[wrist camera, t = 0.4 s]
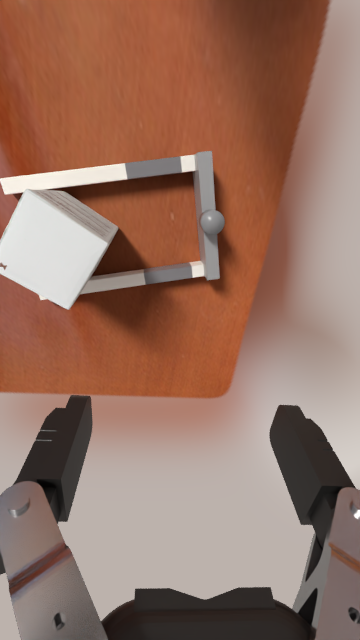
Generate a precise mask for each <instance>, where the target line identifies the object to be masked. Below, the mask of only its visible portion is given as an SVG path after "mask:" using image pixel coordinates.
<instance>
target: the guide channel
mask: <svg viewBox="0 0 360 640" xmlns="http://www.w3.org/2000/svg"><path fill="white" fill-rule="evenodd" d="M185 172H193V181H194V193H195V204H196V215H197V227H198V238H199V250H200V261H196V262H189V263H182V264H176V265H169V266H162V267H155V268H148V269H141V270H134V271H127V272H120V273H113V274H106V275H99V276H92V277H91V278H90V279H89V281H88V282H87V284H86V286H85V287H84V289H83V290H82V292H81V293H80V294H85V293H92V292H99V291H106V290H112V289H119V288H126V287H133V286H140V285H146V284H153V283H160V282H167V281H174V280H180V279H187V278H194V277H201V276H205V278H206V279H207V280H213V279H220V275H219V259H218V243H217V234H218V233H219V232H221V230H222V229H223V227H224V224H225V220H224V217H223V215H222V214H221V213H220V212H218V211H216V210H215V194H214V178H213V162H212V151H206V152H198V153H196V154H195V155H189V156H181V157H173V158H164V159H156V160H148V161H140V162H132V163H124V164H115V165H107V166H99V167H91V168H83V169H75V170H66V171H58V172H50V173H42V174H34V175H25V176H17V177H9V178H1V179H0V182H1V185H2V188H3V191H4V194H18V193H23V192H24V191H25V190H26V189H32V190H50V189H58V188H66V187H74V186H82V185H90V184H98V183H106V182H114V181H122V180H130V179H138V178H145V177H153V176H161V175H169V174H177V173H185ZM39 297H40V300H44V299H47V298H45V297H43V296H41V295H39Z"/></svg>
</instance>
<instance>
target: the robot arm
mask: <svg viewBox="0 0 360 640" xmlns="http://www.w3.org/2000/svg"><path fill="white" fill-rule="evenodd" d="M91 432H92V408H91V397H90V396H79V395H71V396H70V398H69V401H68V403H67V406H66V408H55V409H54V410H53V411H52V412H51V413H50V414H49V415H48V416H47V417H46V419H45V421H44V423H43V425H42V427H41V429H40V432H39V433H38V435H37V438H36V441H35V442H34V444H33V446H32V448H31V450H30V452H29V454H28V457H27V459H26V461H25V463H24V465H23V467H22V469H21V471H20V474H19V476H18V478H17V480H16V481H15V483H14V484H13V485H12V486H11V487H9V488H7V489H6V490H5V491H4V492H3V493H2V494H1V495H0V574H3V573H6V574H7V578H8V582H9V592H10V597H11V601H12V605H13V609H14V613H15V617H16V621H17V625H18V629H19V633H20V637H21V640H360V490H358V489H356V488H355V486H354V485H353V483H352V481H351V479H350V478H349V476H348V474H347V473H346V471H345V469H344V467H343V466H342V464H341V462H340V461H339V459H338V457H337V455H336V454H335V452H334V451H333V449H332V447H331V445H330V443H329V442H327V439H326V437H325V435H324V433H323V431H322V430H321V428H320V427H319V426H318V425H317V424H315V423H314V422H313V421H312V420H311V419H306V418H305V416H304V414H303V412H302V411H301V409H300V407H298V406H292V405H279V406H278V409H277V411H276V414H275V417H274V420H273V423H272V426H271V428H270V442H271V445H272V448H273V451H274V454H275V456H276V459H277V462H278V464H279V467H280V470H281V472H282V475H283V478H284V480H285V483H286V486H287V488H288V491H289V494H290V496H291V499H292V502H293V504H294V507H295V510H296V512H297V515H298V518H299V520H300V523H301V525H313V528H314V530H315V534H314V536H313V539H312V543H311V547H310V551H309V555H308V559H307V563H306V567H305V571H304V575H303V579H302V583H301V586H300V590H299V592H298V594H297V597H296V599H295V602H294V605H293V608H292V609H291V608H289V607H288V606H286V605H285V604H283V603H281V602H279V601H277V600H274V599H273V596H272V592H271V588H270V587H262V588H261V587H259V588H258V587H254V588H236V589H234V590H231V591H228V592H226V593H223V594H221V595H218V596H215V597H213V598H210V599H207V600H203V599H200V598H197V597H194V596H191V595H188V594H185V593H181V592H179V591H176V590H173V589H170V588H167V589H135V599H134V600H131V601H129V602H126V603H124V604H123V605H121V606H119V607H117V608H116V609H115V610H113V611H112V612H111V613H109V614H108V615H107V616H106V617H105V618H104V619H103V620H102V621H100V619H99V616H98V614H97V612H96V609H95V607H94V604H93V602H92V600H91V597H90V595H89V592H88V590H87V588H86V585H85V583H84V581H83V578H82V576H81V573H80V571H79V569H78V566H77V564H76V561H75V559H74V557H73V555H72V552H71V550H70V549H69V547H68V546H66V544H65V542H64V539H63V537H62V535H61V532H60V530H59V527H58V525H57V524H58V521H63V522H64V521H65V522H66V521H67V520H68V517H69V513H70V510H71V506H72V502H73V499H74V495H75V492H76V488H77V484H78V481H79V477H80V474H81V470H82V466H83V463H84V459H85V456H86V452H87V448H88V444H89V441H90V437H91Z"/></svg>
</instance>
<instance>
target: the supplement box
mask: <svg viewBox="0 0 360 640" xmlns="http://www.w3.org/2000/svg"><path fill="white" fill-rule="evenodd" d="M118 229H119V227H118V226H116V225H114V224H113V223H111V222H110V221H108V220H107V219H105V218H104V217H102V216H101V215H99V214H98V213H96V212H95V211H94V210H92V209H91V208H89V207H88V206H86V205H85V204H83V203H82V202H80V201H79V200H77V199H76V198H74V197H73V196H71V195H70V194H68V193H67V192H65V191H54V190H32V189H26V190H25V191H24V192H23V194H22V197H21V198H20V201H19V203H18V205H17V207H16V209H15V211H14V213H13V215H12V217H11V220H10V222H9V224H8V226H7V227H6V229H5V231H4V233H3V236H2V238H1V240H0V274H1V275H3V276H5V277H7V278H9V279H11V280H13V281H15V282H17V283H19V284H20V285H22V286H24V287H26V288H28V289H30V290H32V291H33V292H35V293H37V294H39V295H41V296H43V297H45V298H47V299H48V300H50V301H52V302H54V303H56V304H58V305H60V306H62V307H64V308H66V309H68V310H69V309H70V308H71V306H72V305H73V304H74V302H75V301H76V299H77V298H78V296H79V295H80V293H81V292H82V290H83V289H84V287H85V286H86V284H87V282H88V281H89V279H90V278H91V276H92V274H93V273H94V271H95V269H96V268H97V266H98V264H99V262H100V261H101V259H102V257H103V255H104V254H105V252H106V250H107V248H108V247H109V245H110V243H111V241H112V239H113V238H114V236H115V234H116V232H117V230H118Z"/></svg>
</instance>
